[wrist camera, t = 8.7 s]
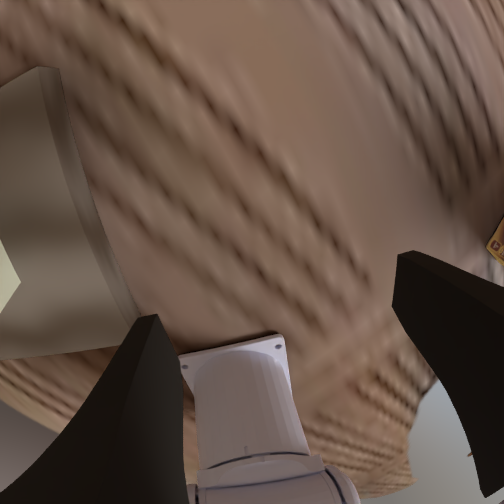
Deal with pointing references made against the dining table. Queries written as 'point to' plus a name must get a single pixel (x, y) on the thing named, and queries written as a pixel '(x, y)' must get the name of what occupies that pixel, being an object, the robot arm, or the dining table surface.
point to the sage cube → (6, 278)
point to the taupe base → (53, 231)
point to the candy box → (497, 243)
